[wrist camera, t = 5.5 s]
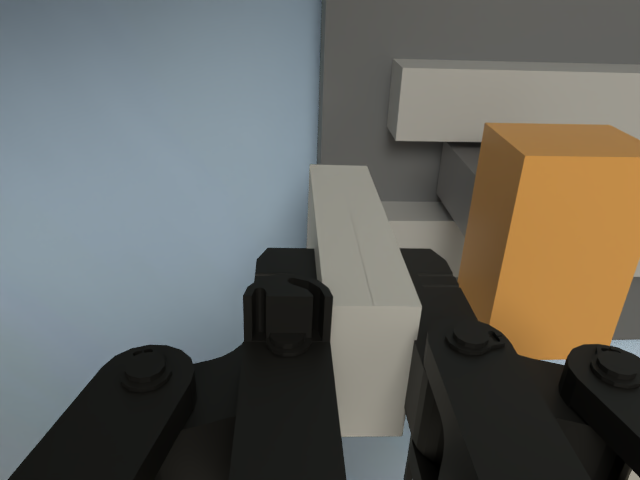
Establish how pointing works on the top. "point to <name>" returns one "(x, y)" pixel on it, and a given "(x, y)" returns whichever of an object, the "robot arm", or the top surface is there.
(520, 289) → the fader knob
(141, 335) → the top surface
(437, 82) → the fader console
